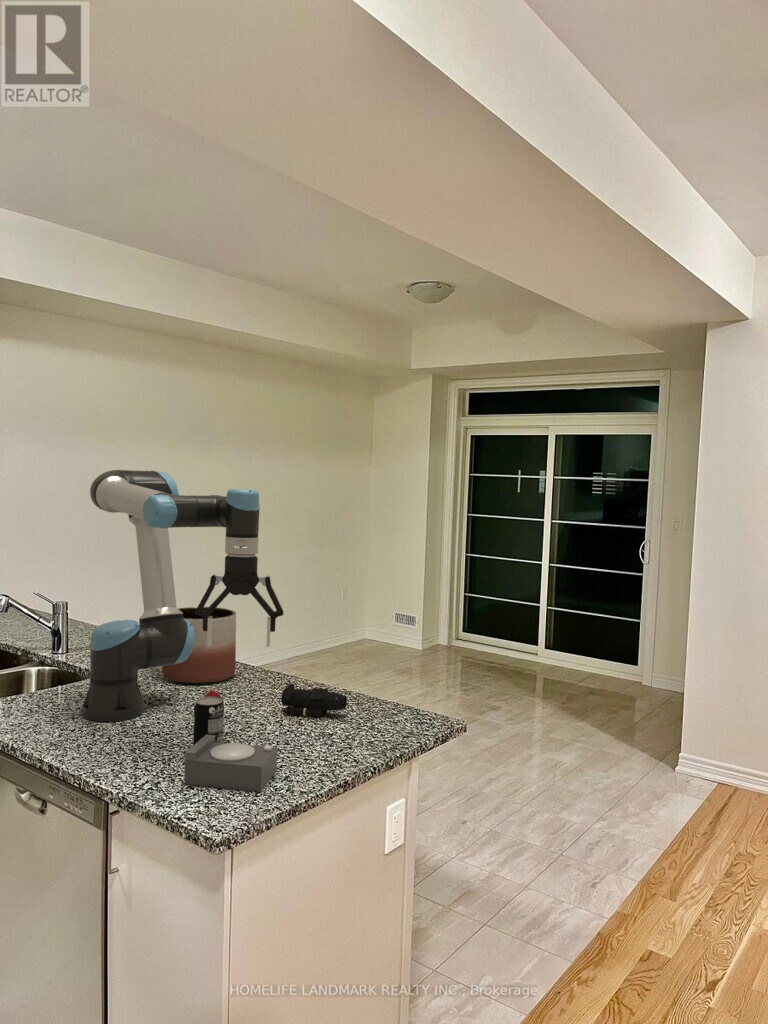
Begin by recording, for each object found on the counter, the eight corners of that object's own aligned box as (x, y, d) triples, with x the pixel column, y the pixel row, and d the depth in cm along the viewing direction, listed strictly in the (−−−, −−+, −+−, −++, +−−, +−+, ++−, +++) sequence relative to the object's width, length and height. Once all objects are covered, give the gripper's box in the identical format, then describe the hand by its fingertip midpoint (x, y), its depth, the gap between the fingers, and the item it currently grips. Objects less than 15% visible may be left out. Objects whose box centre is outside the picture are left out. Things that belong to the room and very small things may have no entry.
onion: (227, 717, 195) (228, 686, 195) (215, 723, 190) (216, 692, 190) (208, 714, 197) (208, 684, 197) (195, 720, 192) (196, 689, 192)
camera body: (184, 784, 152) (185, 752, 152) (205, 764, 163) (206, 734, 163) (260, 791, 150) (261, 759, 150) (276, 770, 161) (277, 740, 160)
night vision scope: (345, 725, 199) (337, 710, 192) (282, 720, 203) (271, 704, 196) (350, 698, 204) (343, 681, 196) (289, 692, 208) (279, 676, 200)
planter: (249, 675, 237) (251, 612, 237) (197, 690, 219) (199, 622, 218) (200, 664, 249) (201, 604, 248) (146, 677, 231) (148, 612, 230)
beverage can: (195, 747, 173) (196, 696, 172) (224, 747, 173) (225, 696, 173) (190, 758, 166) (191, 704, 166) (220, 758, 167) (222, 704, 166)
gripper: (184, 555, 170) (182, 648, 171) (295, 557, 174) (292, 649, 175) (188, 552, 178) (186, 641, 178) (294, 554, 181) (292, 642, 182)
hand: (238, 645), depth 176 cm, fingers open, 13 cm apart
